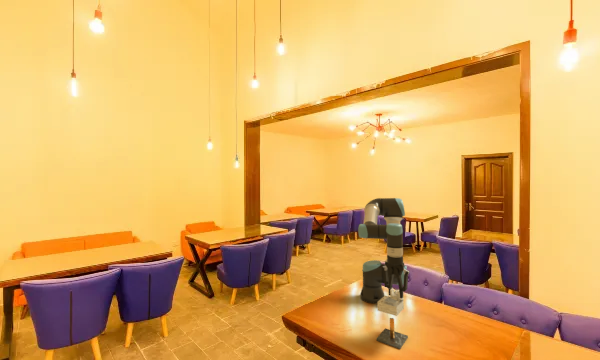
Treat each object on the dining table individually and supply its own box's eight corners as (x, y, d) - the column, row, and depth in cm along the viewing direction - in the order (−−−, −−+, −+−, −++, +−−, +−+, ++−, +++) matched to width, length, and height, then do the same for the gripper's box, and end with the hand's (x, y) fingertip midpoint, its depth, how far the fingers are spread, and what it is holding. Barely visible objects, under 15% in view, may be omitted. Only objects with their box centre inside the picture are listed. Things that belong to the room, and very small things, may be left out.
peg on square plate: (385, 330, 135) (384, 311, 135) (407, 337, 129) (407, 317, 129) (376, 340, 127) (376, 320, 127) (400, 349, 120) (399, 327, 120)
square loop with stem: (391, 297, 141) (391, 287, 141) (409, 302, 135) (409, 292, 135) (377, 310, 127) (377, 299, 127) (396, 316, 121) (396, 304, 121)
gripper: (376, 254, 136) (377, 301, 135) (409, 259, 126) (410, 310, 125) (382, 251, 142) (383, 296, 141) (414, 256, 131) (415, 304, 131)
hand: (396, 303), depth 133 cm, fingers closed on square loop with stem, 3 cm apart
